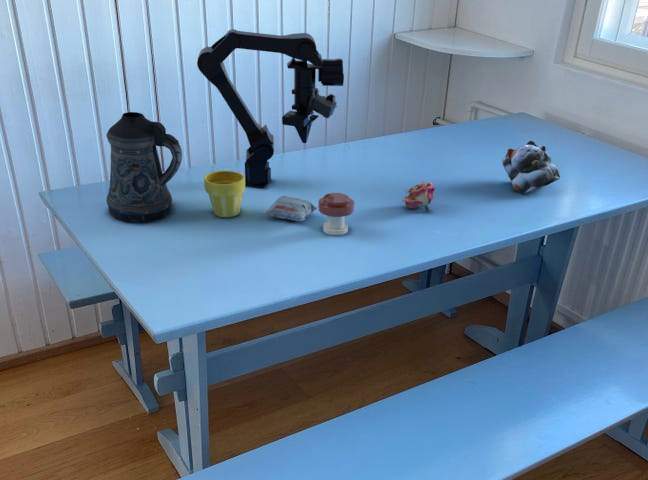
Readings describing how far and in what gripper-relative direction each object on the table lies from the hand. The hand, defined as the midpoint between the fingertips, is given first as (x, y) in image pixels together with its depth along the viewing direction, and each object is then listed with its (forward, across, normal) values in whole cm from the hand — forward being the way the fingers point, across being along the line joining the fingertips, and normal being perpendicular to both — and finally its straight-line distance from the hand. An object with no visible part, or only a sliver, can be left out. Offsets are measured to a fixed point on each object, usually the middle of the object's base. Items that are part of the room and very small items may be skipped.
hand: (304, 142), depth 206 cm
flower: (+12, -5, -35) cm, 37 cm away
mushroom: (+12, -26, -18) cm, 34 cm away
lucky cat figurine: (+12, +24, -62) cm, 67 cm away
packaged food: (+12, -24, -5) cm, 27 cm away
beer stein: (+12, -34, +31) cm, 48 cm away
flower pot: (+12, -27, +12) cm, 32 cm away
